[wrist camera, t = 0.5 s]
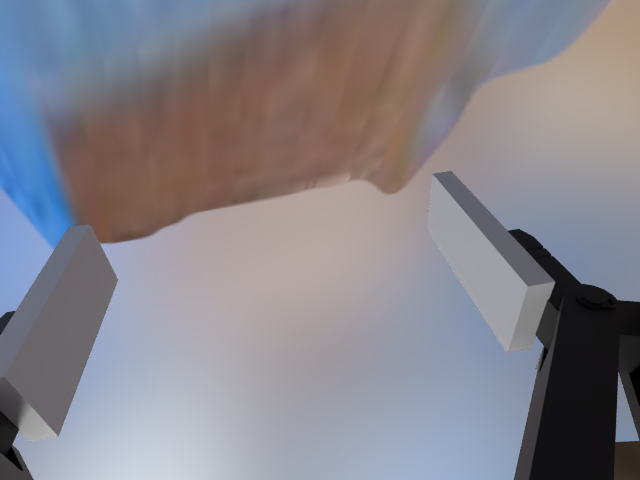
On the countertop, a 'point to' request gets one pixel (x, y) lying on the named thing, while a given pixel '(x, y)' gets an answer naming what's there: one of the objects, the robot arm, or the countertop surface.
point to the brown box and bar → (627, 460)
